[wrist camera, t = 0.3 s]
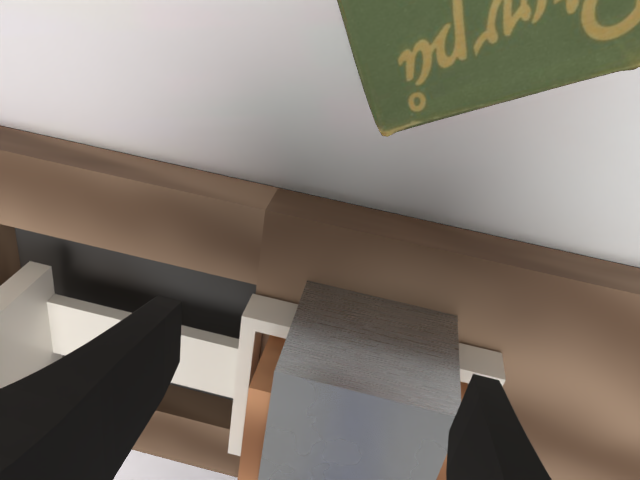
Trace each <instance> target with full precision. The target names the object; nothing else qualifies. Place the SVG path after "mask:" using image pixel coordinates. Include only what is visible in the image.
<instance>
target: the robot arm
mask: <svg viewBox="0 0 640 480" xmlns="http://www.w3.org/2000/svg"><path fill="white" fill-rule="evenodd" d="M181 323H182V301H181V300H177V299H173V298H169V297H165V296H161V295H158V296H157V297H155V298H153V299H152V300H150V301H149V302H147V303H146V304H145V305H143V306H142V307H140V308H139V309H137V310H136V311H134V312H133V313H132V314H130V315H129V316H127V317H126V318H124V319H123V320H121V321H120V322H118V323H117V324H115V325H114V326H112V327H111V328H109V329H108V330H106V331H105V332H103V333H102V334H100V335H98V336H97V337H95V338H94V339H92V340H91V341H89V342H88V343H86V344H84V345H83V346H81V347H79V348H78V349H76V350H74V351H72V352H71V353H69V354H67V355H66V356H64V357H62V358H60V359H59V360H57V361H55V362H53V363H52V364H50V365H48V366H46V367H44V368H42V369H40V370H38V371H37V372H35V373H33V374H31V375H29V376H26V377H24V378H22V379H20V380H18V381H16V382H14V383H12V384H10V385H7V386H5V387H3V388H0V480H113V479H114V477H115V475H116V473H117V472H118V470H119V469H120V467H121V465H122V464H123V462H124V461H125V459H126V457H127V456H128V454H129V453H130V451H131V449H132V448H133V446H134V445H135V443H136V441H137V440H138V438H139V437H140V435H141V433H142V432H143V430H144V429H145V427H146V425H147V424H148V422H149V421H150V419H151V417H152V416H153V414H154V412H155V411H156V409H157V408H158V406H159V404H160V403H161V401H162V399H163V398H164V395H165V393H166V391H167V389H168V387H169V385H170V383H171V381H172V378H173V376H174V374H175V372H176V369H177V367H178V365H179V363H180V347H181ZM446 479H447V480H552V479H551V478H550V476H549V474H548V472H547V471H546V469H545V467H544V466H543V464H542V462H541V460H540V458H539V457H538V455H537V453H536V451H535V449H534V448H533V446H532V444H531V442H530V440H529V438H528V437H527V435H526V433H525V431H524V429H523V427H522V425H521V423H520V421H519V419H518V417H517V415H516V413H515V411H514V409H513V407H512V405H511V403H510V401H509V399H508V397H507V395H506V393H505V391H504V389H503V386H502V385H501V383H500V381H499V380H496V379H492V378H488V377H484V376H480V375H476V374H473V375H472V378H471V380H470V382H469V385H468V387H467V389H466V392H465V394H464V397H463V399H462V401H461V404H460V406H459V408H458V411H457V413H456V416H455V418H454V420H453V423H452V425H451V427H450V430H449V436H448V449H447V467H446Z"/></svg>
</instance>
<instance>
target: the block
mask: <svg viewBox="0 0 640 480" xmlns="http://www.w3.org/2000/svg"><path fill="white" fill-rule="evenodd" d="M285 340H286V339H285V338H281V337H276V336H272V335H270V336H269V338H268V341H267V343H266V346H265V348H264V351H263V353H262V356H261V358H260V361H259V363H258V366H257V368H256V371H255V373H254V376H253V378H252V381H251V383H250V386H249V389H248V398H247V406H246V414H245V423H244V431H243V439H242V447H241V456H240V464H239V472H238V480H258V476H259V469H260V463H261V456H262V449H263V443H264V436H265V429H266V423H267V416H268V410H269V403H270V396H271V390H272V383H273V376H274V371H275V368H276V365H277V362H278V360H279V357H280V354H281V351H282V348H283V346H284V343H285ZM460 385H461V401H462V399H463V397H464V394H465V392H466V389H467V383H465V382H461V381H460ZM446 467H447V455H446V457H445V460H444V462H443V465H442V467H441V469H440V472H439V474H438V477H437V479H436V480H447V479H446Z"/></svg>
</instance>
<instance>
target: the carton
mask: <svg viewBox="0 0 640 480" xmlns="http://www.w3.org/2000/svg"><path fill="white" fill-rule="evenodd" d="M337 2H338V5H339V8H340V12H341V15H342V19H343V22H344V25H345V29H346V32H347V36H348V39H349V43H350V46H351V49H352V53H353V56H354V60H355V63H356V66H357V69H358V73H359V76H360V79H361V82H362V85H363V89H364V92H365V95H366V98H367V101H368V104H369V106H370V109H371V112H372V115H373V118H374V120H375V123H376V125H377V127H378V129H379V131H380V133H381V134H382V136H387V137H388V136H390V135H392V134H394V133H396V132H399V131H402V130H405V129H409V128H412V127H416V126H419V125H423V124H426V123H430V122H433V121H437V120H441V119H444V118H448V117H451V116H455V115H459V114H462V113H466V112H470V111H473V110H477V109H480V108H484V107H488V106H492V105H495V104H499V103H503V102H506V101H510V100H514V99H517V98H521V97H525V96H528V95H532V94H536V93H539V92H543V91H546V90H550V89H554V88H557V87H561V86H565V85H568V84H572V83H576V82H579V81H583V80H587V79H591V78H595V77H599V76H603V75H606V74H610V73H614V72H618V71H625V70H634V69H636V68H638V67H640V0H337Z"/></svg>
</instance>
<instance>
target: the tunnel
mask: <svg viewBox="0 0 640 480" xmlns="http://www.w3.org/2000/svg"><path fill="white" fill-rule="evenodd" d="M460 404H461V385H460V362H459V339H458V316H457V315H453V314H449V313H444V312H440V311H436V310H432V309H427V308H423V307H419V306H415V305H410V304H406V303H402V302H398V301H393V300H389V299H385V298H381V297H376V296H372V295H368V294H364V293H359V292H355V291H351V290H346V289H342V288H338V287H334V286H329V285H325V284H321V283H317V282H312V281H308V280H307V282H306V285H305V288H304V290H303V293H302V296H301V299H300V301H299V304H298V307H297V310H296V313H295V315H294V318H293V321H292V324H291V326H290V329H289V332H288V335H287V337H286V340H285V343H284V346H283V348H282V351H281V354H280V357H279V360H278V362H277V365H276V368H275V371H274V376H273V383H272V390H271V396H270V403H269V410H268V416H267V423H266V429H265V436H264V443H263V449H262V456H261V463H260V469H259V476H258V480H436V479H437V477H438V474H439V472H440V469H441V467H442V465H443V462H444V460H445V457H446V455H447V449H448V436H449V430H450V427H451V425H452V423H453V420H454V418H455V416H456V413H457V411H458V408H459V406H460Z"/></svg>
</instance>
